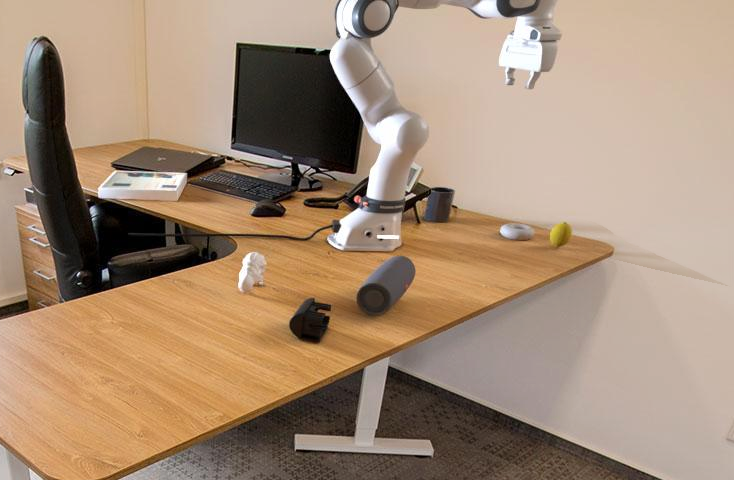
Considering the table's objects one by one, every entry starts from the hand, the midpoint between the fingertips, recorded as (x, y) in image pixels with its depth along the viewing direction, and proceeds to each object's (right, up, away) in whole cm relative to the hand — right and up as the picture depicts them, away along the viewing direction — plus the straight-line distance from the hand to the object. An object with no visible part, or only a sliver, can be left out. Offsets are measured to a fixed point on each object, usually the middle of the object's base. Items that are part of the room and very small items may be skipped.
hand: (518, 87), depth 194 cm
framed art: (-107, -5, +80) cm, 134 cm away
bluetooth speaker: (-46, -65, -22) cm, 83 cm away
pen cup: (-6, -26, +42) cm, 50 cm away
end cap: (-68, -73, -36) cm, 106 cm away
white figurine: (-78, -59, -12) cm, 99 cm away
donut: (+12, -37, +25) cm, 46 cm away
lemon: (+20, -42, +15) cm, 49 cm away
